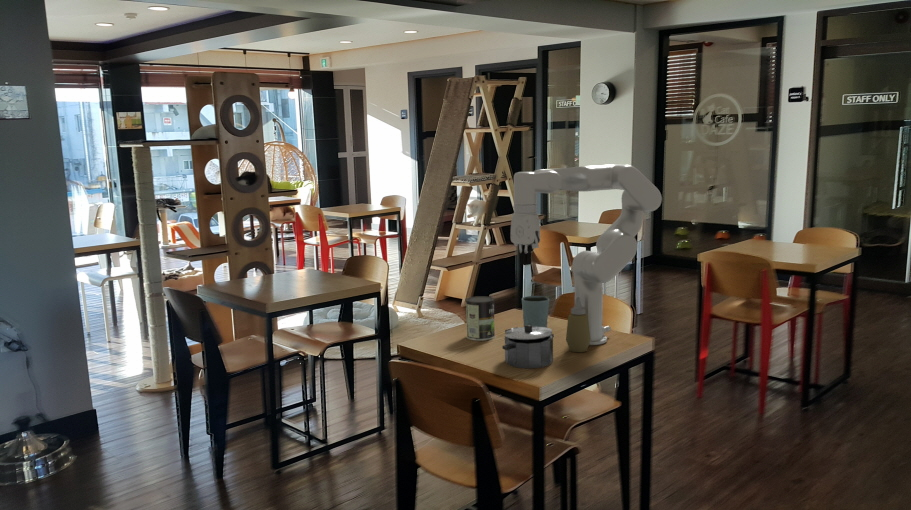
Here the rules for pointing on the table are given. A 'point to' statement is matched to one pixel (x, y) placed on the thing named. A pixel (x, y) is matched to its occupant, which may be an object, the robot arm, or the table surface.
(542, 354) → the pot
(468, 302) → the coffee can
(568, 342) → the squeeze bottle
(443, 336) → the table surface
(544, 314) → the blue-green cup
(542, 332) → the lid
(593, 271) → the robot arm
